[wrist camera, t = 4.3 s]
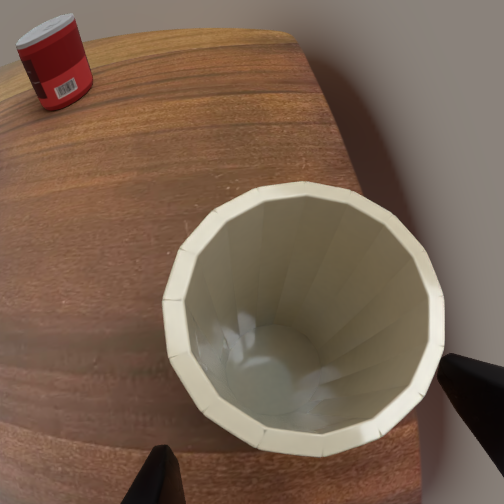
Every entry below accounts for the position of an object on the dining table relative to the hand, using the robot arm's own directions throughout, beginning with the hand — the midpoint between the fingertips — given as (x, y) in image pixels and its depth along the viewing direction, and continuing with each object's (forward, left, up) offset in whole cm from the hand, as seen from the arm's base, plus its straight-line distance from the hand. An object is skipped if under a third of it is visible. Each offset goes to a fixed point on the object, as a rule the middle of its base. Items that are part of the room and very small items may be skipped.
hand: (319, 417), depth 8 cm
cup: (+2, -2, -10) cm, 10 cm away
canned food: (+41, -14, -10) cm, 44 cm away
